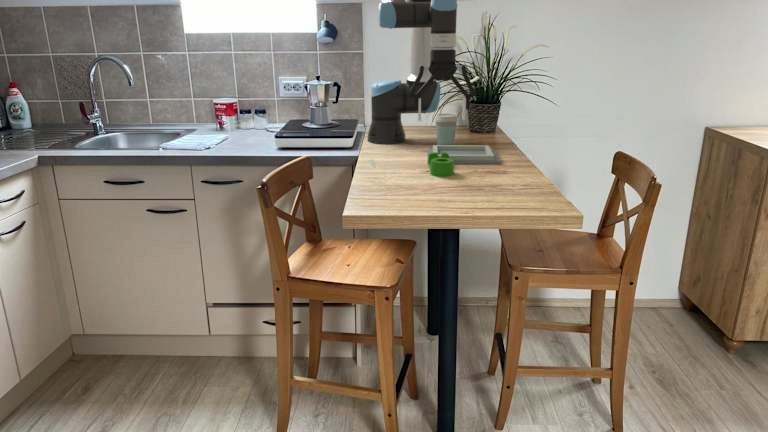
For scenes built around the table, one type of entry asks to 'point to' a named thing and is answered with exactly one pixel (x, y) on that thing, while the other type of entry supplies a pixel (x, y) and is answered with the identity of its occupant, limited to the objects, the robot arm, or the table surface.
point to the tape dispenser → (440, 164)
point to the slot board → (467, 153)
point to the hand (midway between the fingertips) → (441, 120)
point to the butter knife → (372, 163)
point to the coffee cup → (446, 128)
